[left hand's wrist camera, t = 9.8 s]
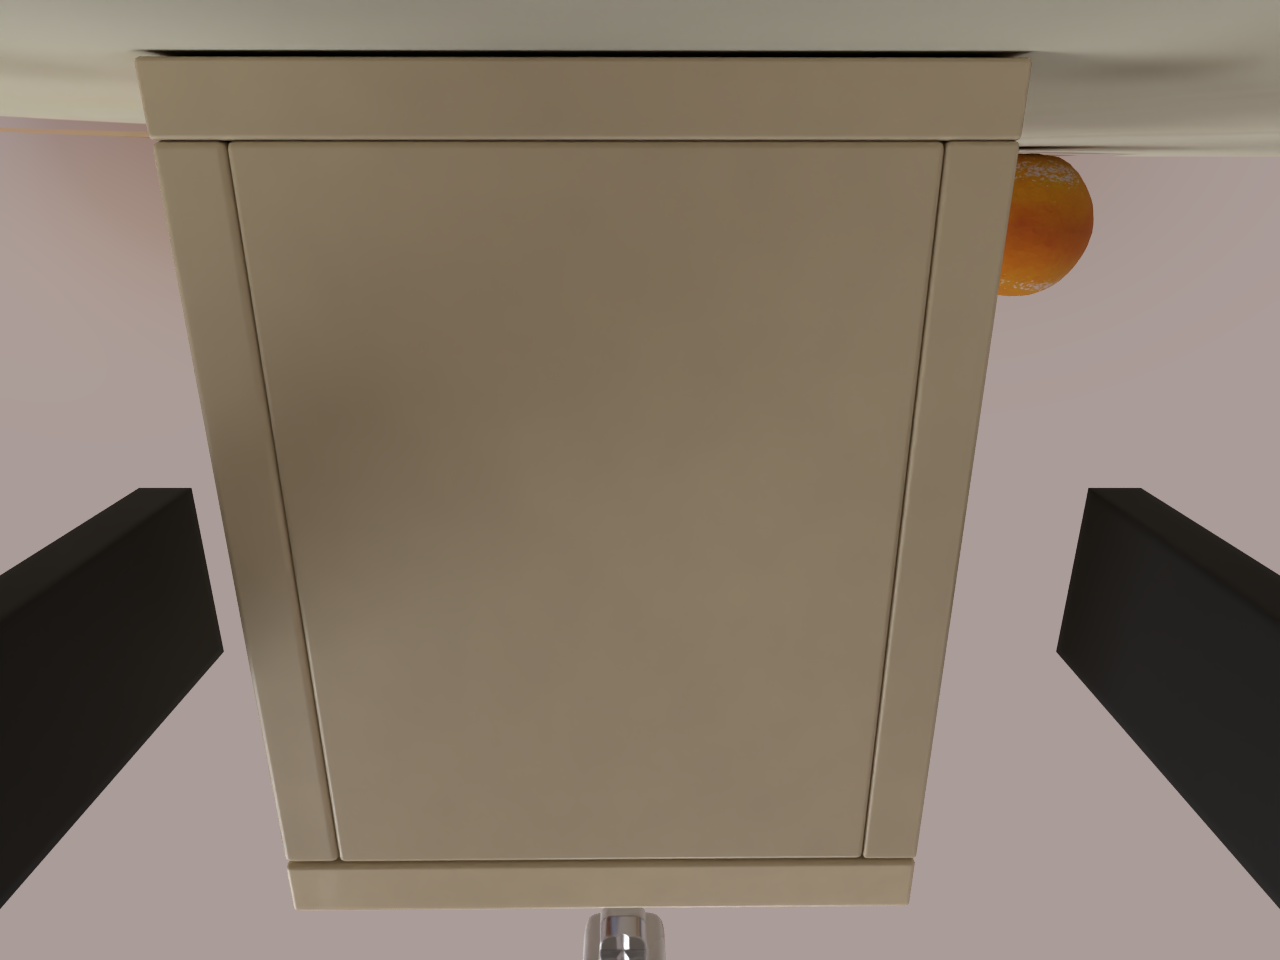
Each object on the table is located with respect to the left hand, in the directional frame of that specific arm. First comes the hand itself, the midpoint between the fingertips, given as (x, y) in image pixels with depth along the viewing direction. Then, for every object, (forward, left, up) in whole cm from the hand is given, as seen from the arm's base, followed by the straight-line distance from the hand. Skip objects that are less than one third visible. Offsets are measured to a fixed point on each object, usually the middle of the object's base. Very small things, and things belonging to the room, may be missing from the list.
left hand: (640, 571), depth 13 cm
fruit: (+36, -11, -7) cm, 39 cm away
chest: (+3, -4, -7) cm, 8 cm away
